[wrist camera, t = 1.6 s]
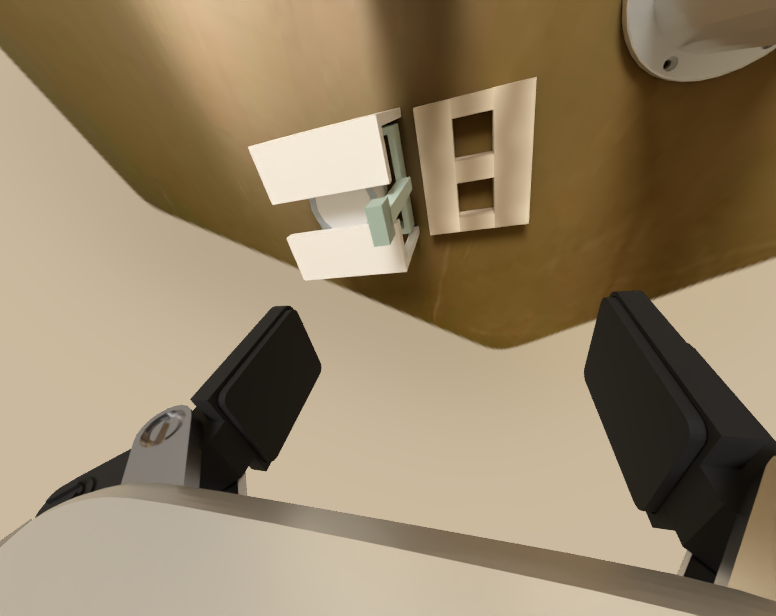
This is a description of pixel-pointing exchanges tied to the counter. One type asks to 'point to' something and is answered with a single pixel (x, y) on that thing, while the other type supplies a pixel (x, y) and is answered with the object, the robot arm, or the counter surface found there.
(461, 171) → the board
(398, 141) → the slider
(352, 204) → the white cup
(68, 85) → the counter surface
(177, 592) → the robot arm
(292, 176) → the tunnel
